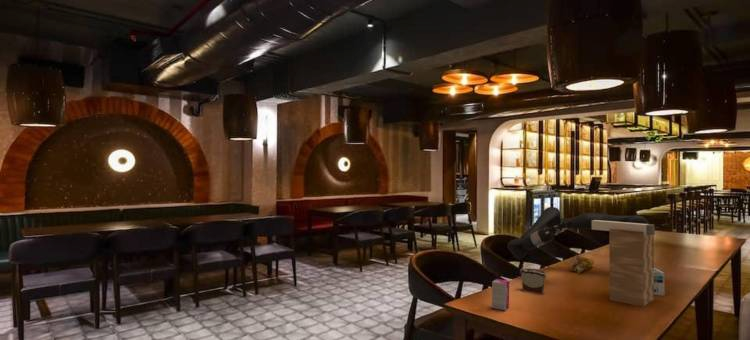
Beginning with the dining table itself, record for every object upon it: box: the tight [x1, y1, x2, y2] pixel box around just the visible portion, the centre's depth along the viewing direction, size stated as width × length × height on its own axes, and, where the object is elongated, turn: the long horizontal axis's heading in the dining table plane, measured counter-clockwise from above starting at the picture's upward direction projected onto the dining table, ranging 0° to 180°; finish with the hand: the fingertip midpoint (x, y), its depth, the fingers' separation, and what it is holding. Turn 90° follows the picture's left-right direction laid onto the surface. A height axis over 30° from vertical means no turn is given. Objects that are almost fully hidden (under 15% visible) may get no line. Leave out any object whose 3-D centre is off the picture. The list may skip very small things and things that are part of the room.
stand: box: [608, 229, 655, 307], centre depth 191 cm, size 15×13×31 cm
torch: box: [569, 254, 595, 274], centre depth 248 cm, size 8×8×25 cm
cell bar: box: [592, 220, 656, 235], centre depth 191 cm, size 4×24×4 cm, turn 43°
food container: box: [519, 268, 547, 295], centre depth 205 cm, size 12×6×10 cm, turn 47°
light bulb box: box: [654, 267, 666, 297], centre depth 202 cm, size 11×7×11 cm, turn 168°
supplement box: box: [491, 278, 510, 312], centre depth 179 cm, size 6×6×12 cm
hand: (569, 223), depth 212 cm, fingers open, 8 cm apart
